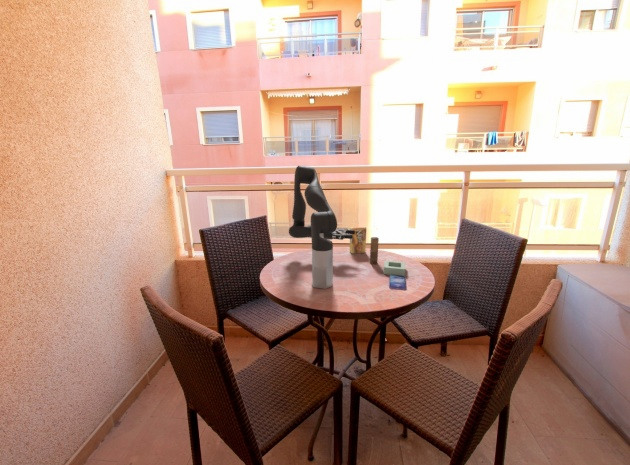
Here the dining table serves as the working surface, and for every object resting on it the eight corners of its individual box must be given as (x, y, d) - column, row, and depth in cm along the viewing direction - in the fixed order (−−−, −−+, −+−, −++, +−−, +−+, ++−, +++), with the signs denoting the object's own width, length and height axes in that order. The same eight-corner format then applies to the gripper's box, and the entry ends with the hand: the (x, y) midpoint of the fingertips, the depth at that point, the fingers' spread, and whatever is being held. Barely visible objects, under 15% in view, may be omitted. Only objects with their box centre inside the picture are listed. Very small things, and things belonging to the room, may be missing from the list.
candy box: (363, 250, 179) (363, 226, 175) (365, 252, 175) (366, 227, 171) (349, 251, 177) (349, 227, 173) (351, 253, 173) (352, 228, 169)
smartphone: (405, 275, 140) (406, 289, 126) (405, 277, 140) (406, 291, 126) (389, 274, 141) (389, 287, 127) (389, 275, 142) (388, 289, 128)
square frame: (404, 276, 140) (405, 269, 140) (383, 273, 143) (383, 267, 142) (404, 268, 150) (405, 262, 149) (384, 266, 152) (384, 260, 152)
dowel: (377, 264, 155) (378, 239, 152) (369, 263, 156) (370, 238, 153) (377, 262, 159) (378, 237, 155) (370, 261, 160) (371, 236, 157)
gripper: (321, 229, 154) (351, 231, 150) (327, 222, 167) (355, 224, 163) (321, 242, 156) (351, 245, 152) (327, 235, 169) (355, 237, 165)
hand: (353, 234), depth 157 cm, fingers open, 8 cm apart
